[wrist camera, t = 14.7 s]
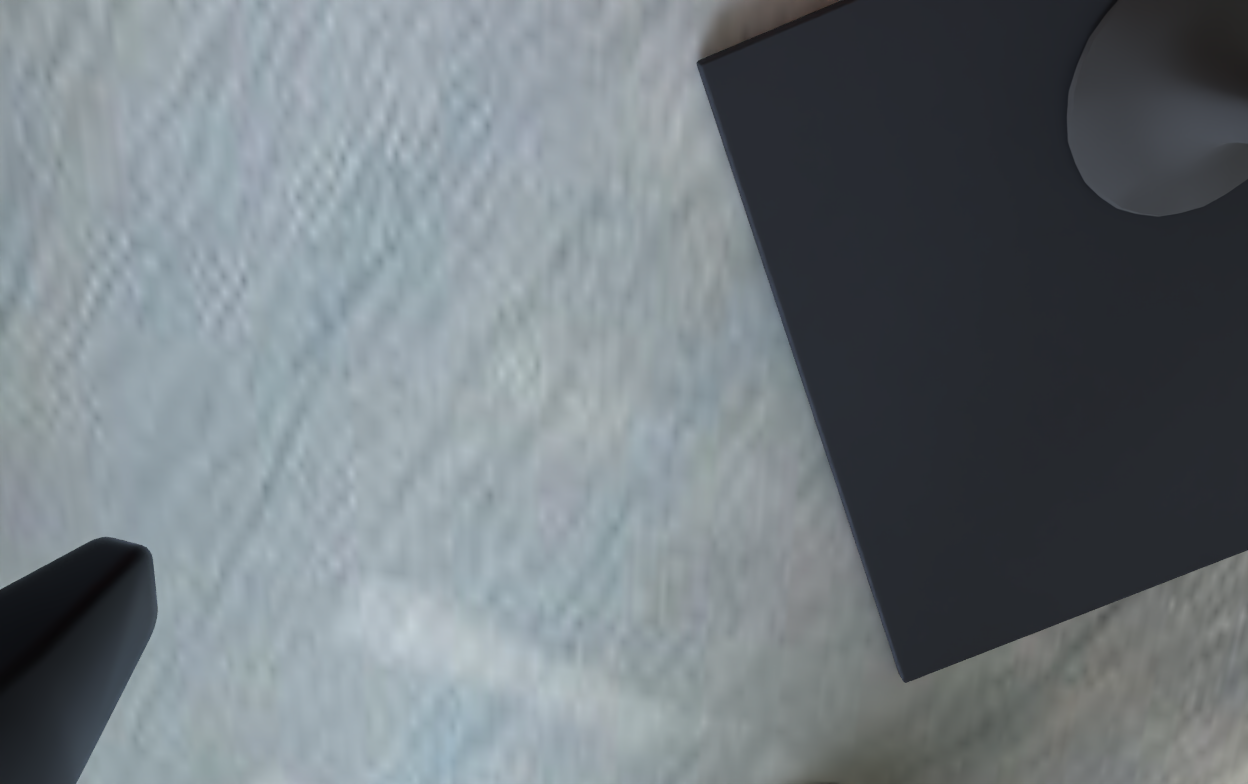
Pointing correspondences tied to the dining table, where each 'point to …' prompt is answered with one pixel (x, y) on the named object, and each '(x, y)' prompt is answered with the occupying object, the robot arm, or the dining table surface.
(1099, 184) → the sundae
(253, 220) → the dining table surface
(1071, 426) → the placemat
